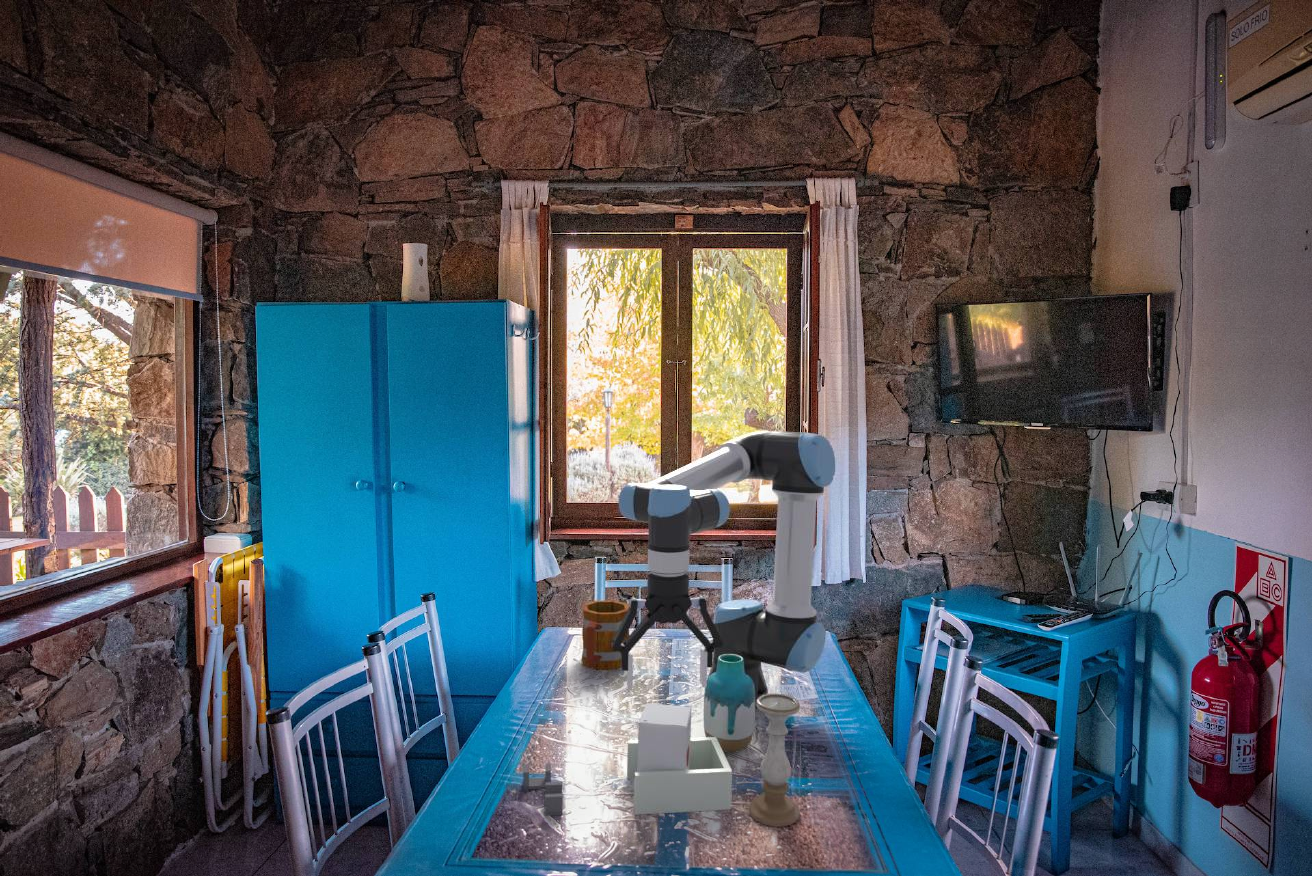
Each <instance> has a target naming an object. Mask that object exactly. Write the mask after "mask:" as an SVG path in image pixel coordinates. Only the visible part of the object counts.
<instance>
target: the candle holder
mask: <svg viewBox="0 0 1312 876" xmlns="http://www.w3.org/2000/svg"><path fill="white" fill-rule="evenodd" d="M756 706H757V707H756V708H757V709H758V710H760V712H763V713H764V714H765V716H766V718H768V720H769V724H768V726H767V727H765V728H766V729H765V732H766V733H767V734H768V742H767V744H768V746H767V750H766V751H765V754H764V756H763V759H762V760H761V763H760V766H759V772H760V775H761V778H762V779H763V780H762V781H761V784H760V785H761V788H762V789H763V791H764V792H763V793H761V794H759V795H757V796H756V797H755V798H753V799H752V800H751V801H750V803H749V807H748V809H749V814H750V816H751V817H752V818H753V820H755V821H756V822H758V823H760V824H762V825H765V826H768V827H776V828H777V827H778V828H783V827H784V828H785V827H788V825H789V826H791V825H792V826H793V825H794V824H795V823H797V821H799V818H800V807H799V806H798V805H797V803H795V802H794V801H793V800H792V799H791V798H790V797H789V796H788V795H786V793H787V792H788V791H789V789H790V786H789V784H788V781H789V779H790V778H791V775H792V766H791V763H790V761H789V758H788V756H787V751H786V747H785V745H786V744H785V740H786V739H785V738H786V735H788V733H789V730H788V728H787V726H786V721H787V720H788V719H789V718H790V716H793V715H796V714H797V713H799V712H800V710H801V704H800V702H799V700H798V699H797V698H795V697H793V696H791V695H787V694H783V693H768V694H765V695H762V696H760V697H758V699H757V701H756ZM793 823H794V824H793Z"/></svg>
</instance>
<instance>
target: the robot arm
mask: <svg viewBox="0 0 1312 876" xmlns="http://www.w3.org/2000/svg"><path fill="white" fill-rule="evenodd" d="M835 456H836V455H835V451H834V449H833V446H832V445H831V443H830V441H829V440H828V439H827V437H825V436H824V435H822V434H819V433H818V434H817V433H810V432H806V431H804V432H800V431H797V432H796V431H795V432H793V431H779V430H768V429H767V430H759V431H758V430H757V431H754V432H750V433H746V434H743V435H741V436H738V437H735V438H733V439H731V440H727V441H726V442H724V443H722V444H720V445H719V446H718V447H717V449H716V450H715V452H712V453H710V454H708V455H706V456H704V457H702V458H699V459H698V460H695V461H693V462H690V463H689V464H686V465H685V466H682V467H680V468H678V469H676V470H674V471H671V472H670V473H668V474H665V475H662V476H661V477H658V478H656V479H654V480H652V481H649V482H648V483H647V482H645V483H642V482H629V483H627V484H625V485H624V486H623V487H622V488H621V490H620V492H619V496H618V501H617V502H618V509H619V512H620V513H621V515H622V516H623V517H624V518H625V519H629V520H631V521H635V522H638V523H641V522H642V523H648V543H647V546H648V547H647V569H648V573H647V580H646V581H647V583H646V584H647V586H646V587H647V588H646V589H647V590H646V593H647V594H646V597H645V599H643V598H637V597H635V596H630V598H629V603H628V604H629V609H628V611H627V613H626V615H625V617H624V619H623V620H622V622H621V624H620V626H619V628H618V630H617V632H616V634H615V636H614V638H613V640H612V642H611V646H612V649H613V651H618V652H620V653H621V667H622V668H621V670H622V671H623V672H626V686H627V691H633V680H634V679H633V676H634V675H633V674H634V673H633V672H634V671H633V670H634V668H633V667H634V666H633V665H634V663H633V661H634V659H633V658H634V654H633V651H632V649H633V648H634V647H635V646H636V644H637V643H638V642H639V641H640V640H641V639H642V637H643V636H644V635H646V633H647V632H648V631H649V629H650V628H651V627H653V625H655V623H659V625H660V624H662V625H665V624H667V623H671V624H678V623H679V622H680V621H682V623H683V624H684V625H685V626H686V627H687V628H688V629H689V630H690V632H691V633H692V634H693V635H694V636H695V638H696V639H697V640H698V641H699V642H700V643H701V644H702V645H703V646H700V648H699V649H700V653H699V655H700V657H699V683H700V684H701V687H702V688H705V687H707V679H708V677H709V676H710V675H711V674H713V673H715V672H716V670H717V663H718V657H719V656H720V655H723V654H735V655H739V656H741V657H743V659H744V672H745V674H746V675H748V676H749V677H750V678H751V679H752V681H753V683H754V688H755V708H757V706H756V701H757V699H758V697H760V696H762V695H765V694H769V693H768V692H769V690H768V685H767V682H766V679H765V675H764V672H763V668H762V663H763V664H767V665H771V666H774V667H777V668H780V669H784V670H786V671H789V672H798V673H802V674H805V673H807V672H810V671H812V669H814V668H815V666H816V665H817V663H818V662H819V660H820V658H821V656H822V654H823V652H824V650H825V649H824V648H825V644H826V638H827V637H826V636H827V634H826V628H825V626H824V624H822V623H821V622H819V621H817V618H818V617H817V615H818V612H817V610H816V609H815V608H814V607H813V606H812V602H811V601H812V583H813V582H812V581H813V566H814V565H813V564H814V551H815V549H814V545H815V532H816V531H815V530H816V529H815V528H816V515H817V513H816V511H817V501H818V499H820V498H821V496H823V495H824V491H825V487H826V488H827V487H829V486H830V485H831V484H832V483H833V480H834V476H835V474H836V458H835ZM751 479H753V480H763V481H764V480H765V481H770V482H771V481H772V486H771V490H772V492H773V493H774V494H775V495H776V497H777V512H776V516H777V517H776V533H775V535H776V536H775V550H774V551H775V552H774V553H775V554H774V568H773V569H774V570H773V571H774V572H773V587H772V589H773V590H772V591H773V592H772V601H771V602H770V603H768V604H767V605H766V606H764V604H763V602H762V601H760V600H756V599H745V598H744V599H734V600H733V599H731V600H728V601H723V602H722V603H719V604H718V605H717V606H716V607H715V609H714V617H713V619H712V618H711V616H710V614H709V612H708V606H707V605H708V604H707V600H706V598H705V596H703V594H699V595H697V596H696V597H690V590H689V589H690V574H689V573H688V571H689V570H690V543H691V542H690V541H691V539H690V538H691V535H694V534H696V533H701V532H705V531H711V530H714V529H716V528H718V527H721V526H723V525H724V524H725V523H726V522H727V521H728V519H729V516H730V512H731V507H730V502H729V500H728V498H727V495H726V494H724V493H723V492H722V491H720V490H719V488H721V487H723V486H725V485H727V484H729V483H740V482H742V481H744V480H751ZM691 606H694V608H695V610H697V611H699V613H700V615H701V617H702V619H703V621H704V624H705V625H706V628H707V629H708V632H709V634H710V636H711V638H712V639H708V637H707V636H706V635H705V634H704V633H703V632H702V630H701V629H700V628H699V627H698V626H697V624H696V623H695V622H694V621H693V620H692V618H691V617H690V616H689V615H688V614H687V612H688V611H689V609H690V608H691ZM643 607H644V608H646V610H647V611H648V612H647V613H646V614H645V616H644V617H643V619H642V620H641V621H640V622H639V624H638V625H637V626H636V627H635V628H634V629H633V631H632V632H631V633H629V637H628V638H627V639H626V640H625V641H624V642H623V640H624V638H625V636H626V634H627V632H628V630H629V631H630V629H631V628H630V627H631V625H633V622H634V620H635V618H636V616H637V613H638V612H640V611H642V608H643ZM764 609H765V610H764ZM622 642H623V643H622ZM708 668H710V670H709V673H708Z"/></svg>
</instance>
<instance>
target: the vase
mask: <svg viewBox="0 0 1312 876" xmlns="http://www.w3.org/2000/svg"><path fill="white" fill-rule="evenodd" d="M708 676H709V675H708ZM708 676H707V678H708V679H707V687H704V696H703V728H704V734H705V736H704V737H716V738H717V740H718V742H719V744H720V746H721V749H722V751H723V753H729V754H730V753H731V754H732V753H737V752H742V751H744V750H745V749H747V747H749V746H750V744H751V742H752V739H753V737H754V732H755V721H756V707H755V688H754V683H753V681H752V679H751V678H750V677H749V676H748V675H746V674H745V672H744V659H743V657H741V656H739V655H735V654H723V655H720V656H719V657H718V663H717V670H716V672H715V673H713V674H711V675H710V676H709V677H708Z"/></svg>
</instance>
